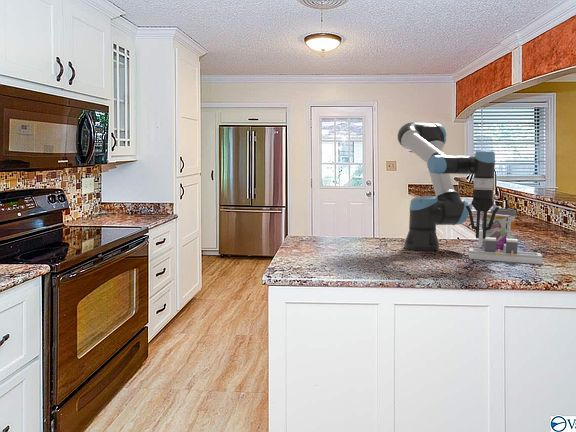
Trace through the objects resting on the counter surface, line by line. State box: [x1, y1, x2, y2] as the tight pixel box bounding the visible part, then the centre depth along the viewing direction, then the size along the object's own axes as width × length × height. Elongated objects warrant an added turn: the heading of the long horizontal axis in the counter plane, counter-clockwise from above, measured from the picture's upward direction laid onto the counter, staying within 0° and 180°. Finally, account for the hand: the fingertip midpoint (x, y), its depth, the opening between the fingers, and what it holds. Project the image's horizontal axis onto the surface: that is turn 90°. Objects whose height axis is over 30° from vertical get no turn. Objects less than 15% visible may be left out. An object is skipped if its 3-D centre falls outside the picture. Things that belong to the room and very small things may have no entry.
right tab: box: [506, 238, 519, 254], centre depth 204 cm, size 4×4×6 cm
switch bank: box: [468, 244, 544, 265], centre depth 205 cm, size 27×10×6 cm, turn 71°
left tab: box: [484, 237, 496, 252], centre depth 206 cm, size 4×4×6 cm
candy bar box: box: [479, 212, 512, 250], centre depth 223 cm, size 11×5×16 cm, turn 47°
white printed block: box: [490, 208, 517, 239], centre depth 263 cm, size 13×13×15 cm
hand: (480, 246), depth 207 cm, fingers closed
